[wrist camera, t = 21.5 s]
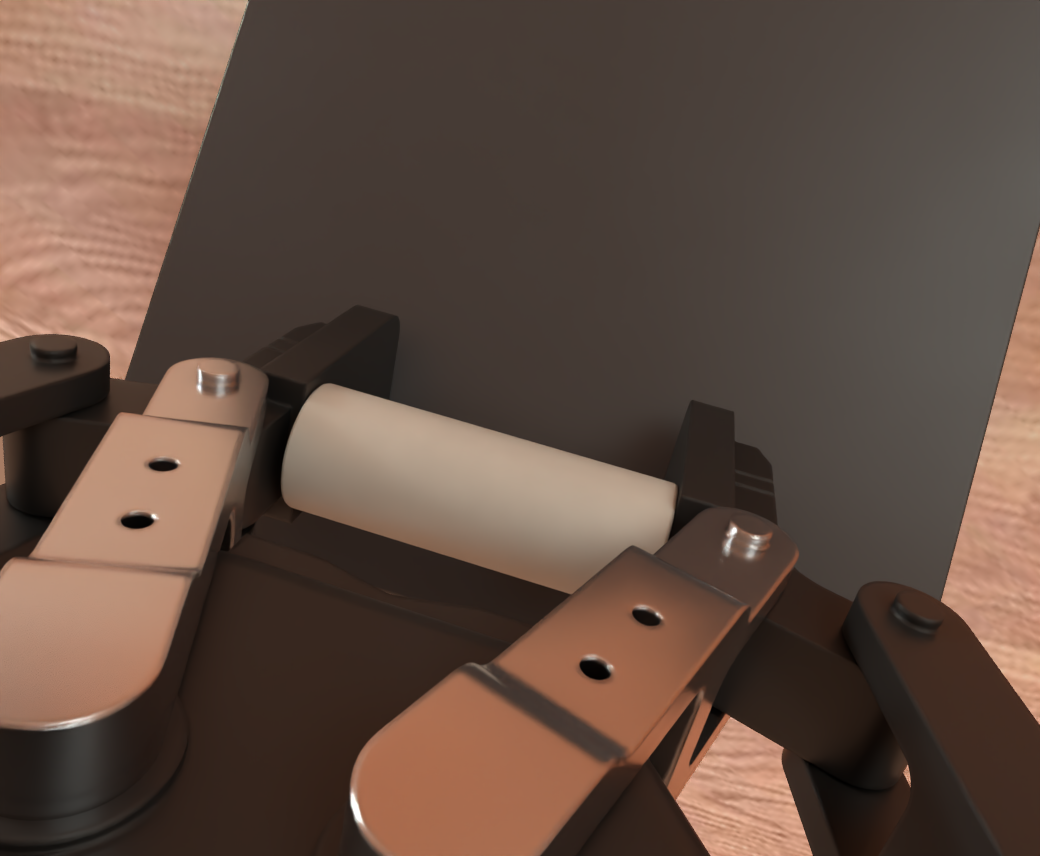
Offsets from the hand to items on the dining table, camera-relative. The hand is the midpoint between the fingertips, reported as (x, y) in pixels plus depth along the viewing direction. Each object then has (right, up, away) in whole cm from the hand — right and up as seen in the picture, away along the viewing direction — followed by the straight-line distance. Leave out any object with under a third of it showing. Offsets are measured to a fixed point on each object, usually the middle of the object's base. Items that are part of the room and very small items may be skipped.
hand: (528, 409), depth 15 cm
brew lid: (+1, +4, +1) cm, 5 cm away
